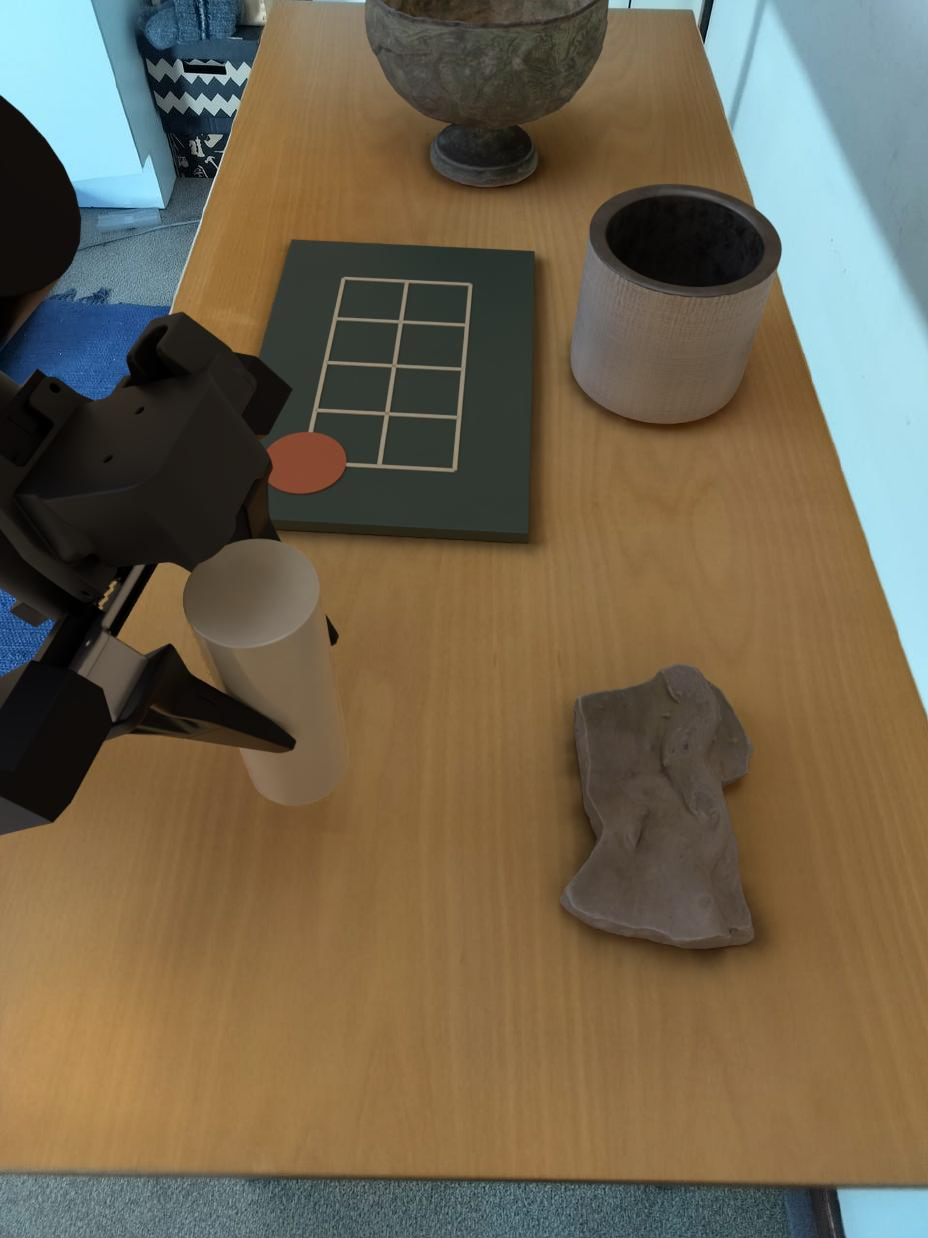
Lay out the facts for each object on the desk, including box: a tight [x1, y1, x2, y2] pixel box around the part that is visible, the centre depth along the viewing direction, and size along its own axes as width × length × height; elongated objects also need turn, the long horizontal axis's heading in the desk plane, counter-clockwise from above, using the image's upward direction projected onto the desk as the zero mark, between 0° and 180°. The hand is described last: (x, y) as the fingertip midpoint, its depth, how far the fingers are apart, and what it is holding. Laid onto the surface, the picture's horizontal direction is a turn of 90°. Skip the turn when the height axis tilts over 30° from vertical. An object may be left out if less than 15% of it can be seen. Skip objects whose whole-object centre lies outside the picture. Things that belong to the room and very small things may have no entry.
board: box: [257, 238, 536, 544], centre depth 67 cm, size 20×30×1 cm, turn 177°
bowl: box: [364, 0, 610, 188], centre depth 78 cm, size 20×19×15 cm
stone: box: [559, 663, 755, 950], centre depth 46 cm, size 15×10×4 cm, turn 173°
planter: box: [569, 183, 783, 425], centre depth 63 cm, size 13×13×11 cm
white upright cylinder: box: [182, 539, 351, 807], centre depth 36 cm, size 5×5×13 cm
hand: (311, 694), depth 36 cm, fingers closed on white upright cylinder, 4 cm apart
